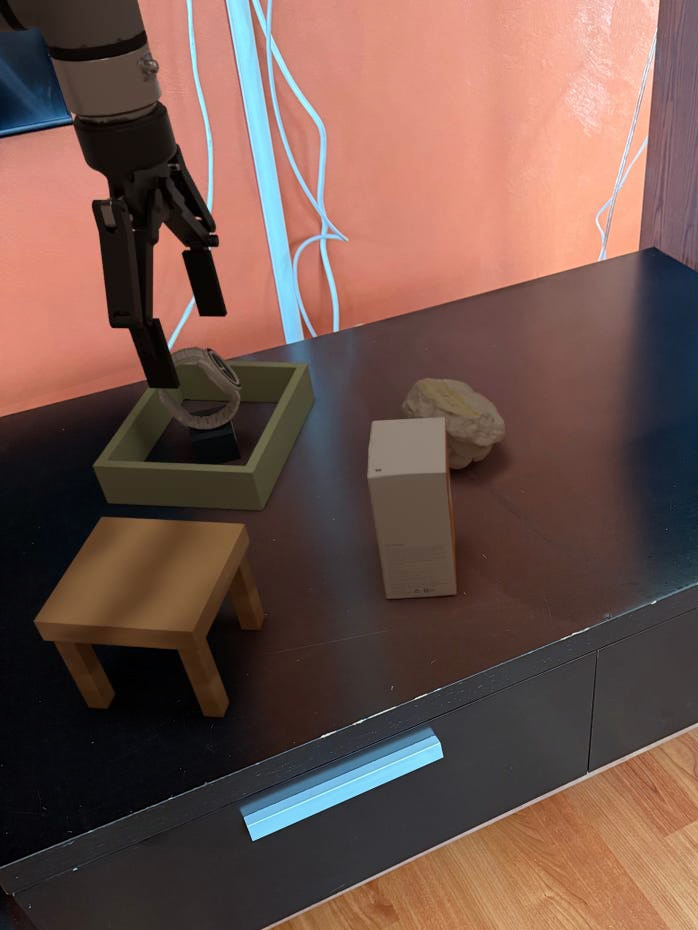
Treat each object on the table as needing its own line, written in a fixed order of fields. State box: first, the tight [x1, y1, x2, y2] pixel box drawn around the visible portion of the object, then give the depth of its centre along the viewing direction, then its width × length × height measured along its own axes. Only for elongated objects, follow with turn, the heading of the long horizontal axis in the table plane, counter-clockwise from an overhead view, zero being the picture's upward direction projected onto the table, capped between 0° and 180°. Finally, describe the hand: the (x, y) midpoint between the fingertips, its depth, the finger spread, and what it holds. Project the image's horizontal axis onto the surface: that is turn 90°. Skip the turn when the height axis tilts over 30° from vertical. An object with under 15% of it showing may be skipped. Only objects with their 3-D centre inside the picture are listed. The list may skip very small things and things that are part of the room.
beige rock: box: [400, 377, 506, 470], centre depth 95 cm, size 12×8×10 cm
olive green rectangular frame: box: [92, 360, 316, 511], centre depth 98 cm, size 16×20×4 cm
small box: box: [366, 417, 458, 600], centre depth 80 cm, size 8×6×13 cm
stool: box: [33, 516, 266, 718], centre depth 75 cm, size 12×12×10 cm
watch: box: [158, 346, 242, 465], centre depth 96 cm, size 6×8×11 cm
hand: (190, 349), depth 92 cm, fingers open, 13 cm apart
